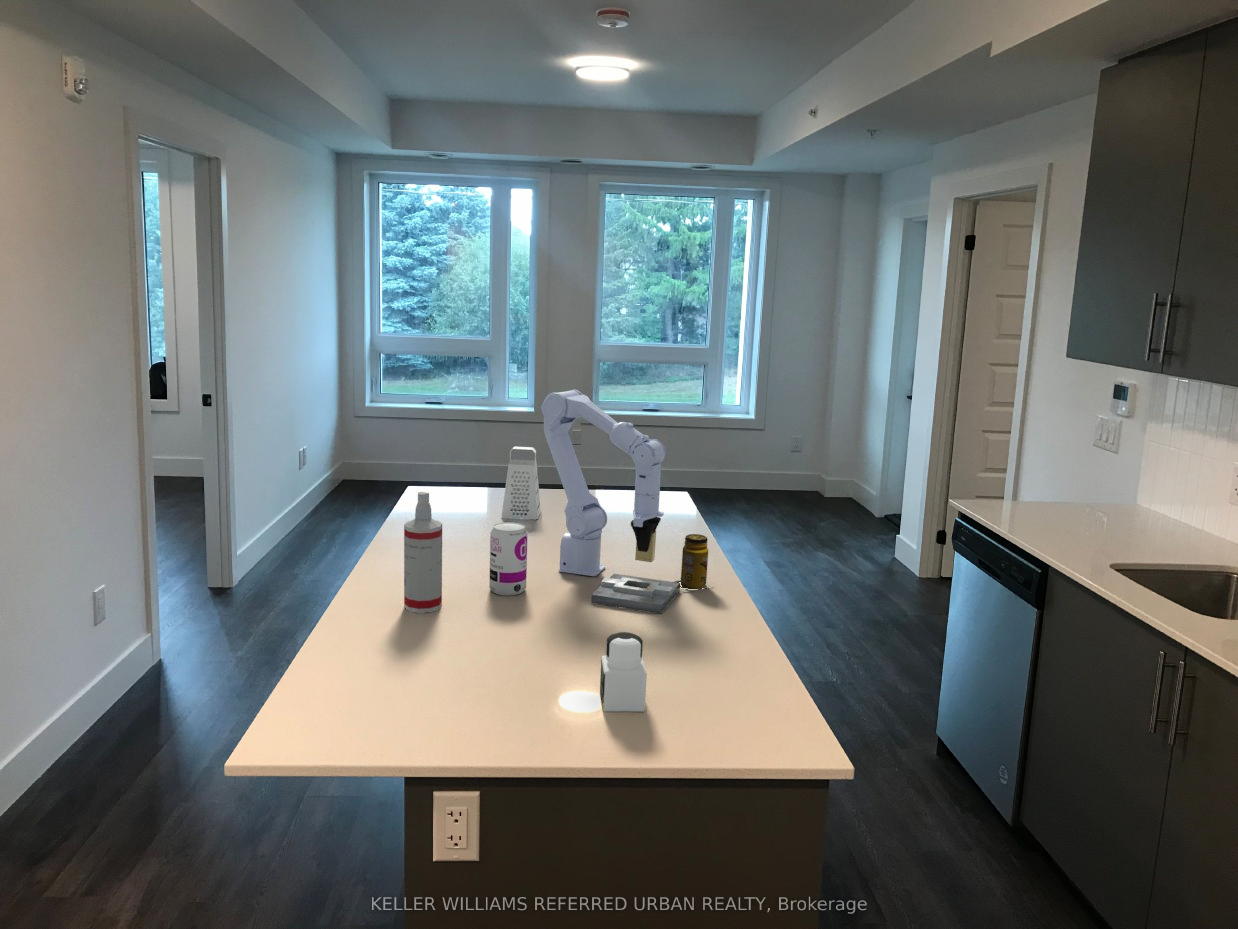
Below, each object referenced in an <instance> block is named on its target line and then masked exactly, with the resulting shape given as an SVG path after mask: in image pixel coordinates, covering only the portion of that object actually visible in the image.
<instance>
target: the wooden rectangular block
mask: <svg viewBox="0 0 1238 929" xmlns="http://www.w3.org/2000/svg"><path fill="white" fill-rule="evenodd" d="M656 542H657V530H656V531H652V534H651V538H650V543H649V548H648V551H647V552H643V551H638V547H637V542H635V543H636V544H635V557H634V558H635V559H634V560H635V561H640V562H647V563H653V561H654V560H655V556H656V555H655V554H656Z"/></svg>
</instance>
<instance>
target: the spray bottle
mask: <svg viewBox="0 0 1238 929" xmlns="http://www.w3.org/2000/svg"><path fill="white" fill-rule="evenodd" d="M403 533H404V534H403V541H404V542H403V546H404V547H403V553H404V555H403V565H404V566H403V577H404V578H403V581H404V582H403V598H404V599H403V603H404V607H403V608H404V609H405V608H406V609H407V610H406V609H405V610H406V611H408V612H409V613H410V612H411V613H415V612H418V613H417V614H426V613H425V612H430V613H433V612H436V611H438V610H440V609H441V607H442V606H443V604H442V603H443V601H442V600H443V598H442V597H443V523H442V522H440V521H439V520H435V519H433V518H432V507H431V503H430V493H429V492H425V491H418V492H417V503H416V505H415V514H414V519H412V520H409V521H406V522H405V523H404V524H403Z"/></svg>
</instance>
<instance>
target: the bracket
mask: <svg viewBox="0 0 1238 929" xmlns="http://www.w3.org/2000/svg"><path fill="white" fill-rule="evenodd" d="M627 585H635V586H642V587H647V588H639V587H632V586H627ZM600 586H607V587H613V591H620V592H627V593H633V594H640V595H647V596H652V595H653V594H654V593H655V594H661V595H668V596H670V594H671V593H672V592H673V587H667V586H661V585H660V582H653V581H646V580H639V579H632V578H625V577H622V578H621V579H620V580H619V579H612V578H610V577H604V578H603V579H602V580H601V582H600Z"/></svg>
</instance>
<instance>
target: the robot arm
mask: <svg viewBox="0 0 1238 929" xmlns="http://www.w3.org/2000/svg"><path fill="white" fill-rule="evenodd" d="M540 410H541V413H542V415H543V432H544V433H543V434H544V436H545V440H546V442H547V445H548V447H549V450H550V453H551V456H552V459H553V462H554V465H555V468H556V470H557V473H558V476H559V478H560V482H561V485H562V487H563V490H564V493H565V495H566V498H567V503H566V505H565V507H564V515H565V526H566V529H567V531H568V532H565V533H563V535H562V537H561V540H560V550H559V568H558V572H560V573H567V574H568V573H569V574H573V575H582V576H587V577H588V576H589V577H597V576H598V575H599V574H600V573H601V572H602V571H604V569H606V565H603V564H601V550H602V547H601V546H602V533H603V529H604V528H605V527H606V526H607V523H608V515H607V512H606V510H605V509H604V508H603V507H602V506H601V504H600V502H599V499H598V498H597V497H596V496H594V495H593V494H591V492H590V490H589V488H588V484H587V482H586V479H585V476H584V474H583V471H582V468H581V466H580V462H579V459H578V457H577V454H576V452H575V448H574V446H573V443H572V441H571V436H570V435H569V434H570V433H569V431H570V429H571V427H572V425H573V423H574V422H575V421H576V420H577V419H584V420H586V421H588V422H589V423H590V424H592V425H594V426H595V427H597V428H598V429H600V430H602V431H603V432H605V433H606V434H607V435H609V441H610V443H612V444H613V445H615V446H616V447H617V448H619V449H620V450H622V451H624V452H625V454H627V455H629V456H630V457H631V459H632V462H633V464H634V465H635V480H634V482H635V483H634V484H635V485H634V501H633V502H634V503H633V507H634V508H633V511H632V515H633V519H632V520H631V521H630V527H631V528H632V531H633V533H634V536H635V540H636V542H637V547H638V551H643V552H647V551H648V548H649V543H650V538H651V534H652V531H656V532H657V528H658V526H659V524H660V522H661V519H662V518H661V517H663V516H664V515H665V514H664V513H665V512H663V511H660V493H661V478H662V476H661V473H662V472H661V471H662V470H661V469H662V463H663V461H665V459H666V456H667V450H666V446H665V445H664V444H663V443H662V442H661V441H660V440H659V439H656V438H653V439H650V436H649V435H647V434H643V433H642V432H640V431H639V430H638V429H636V428H635V427H634V423H631V422H626V421H622V422H617V421H616V420H615V419H613V417H611V416H610V415H608V414H607V413H606V412H605V411H604V410H602V409H601V408H600V407H599V406H597V405H596V404H595V403H593V402H592V401H591V399H590V398H589V396H588V395H586V394H583V393H582V392H581V391H579V390H578V389H570V390H568V391H567V390H566V391H561V392H550V393H549V394H547V395H546V396H545V398H544V400H543V402H542V404H541V406H540ZM636 542H635V543H636Z"/></svg>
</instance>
